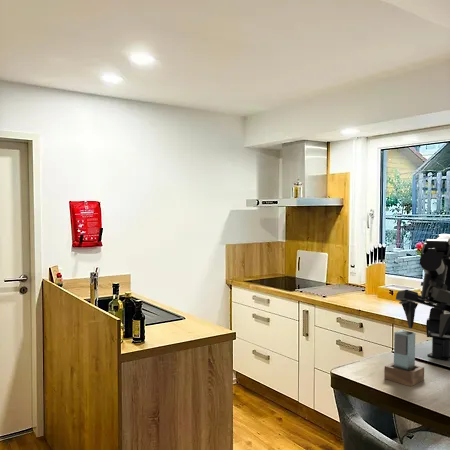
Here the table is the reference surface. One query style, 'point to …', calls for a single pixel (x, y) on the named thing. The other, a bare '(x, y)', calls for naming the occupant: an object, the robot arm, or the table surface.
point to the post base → (404, 375)
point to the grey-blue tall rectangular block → (404, 350)
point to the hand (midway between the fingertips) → (425, 332)
